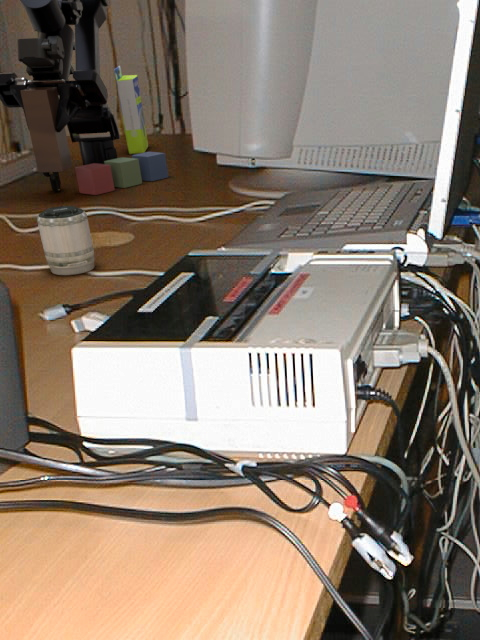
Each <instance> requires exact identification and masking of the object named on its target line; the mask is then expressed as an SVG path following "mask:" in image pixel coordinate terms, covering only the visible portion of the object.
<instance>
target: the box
mask: <svg viewBox="0 0 480 640" xmlns="http://www.w3.org/2000/svg"><path fill="white" fill-rule="evenodd" d="M121 67H122V66H121V65H118V66H117V67H115V68H114V69H113V74H114V78H115V84H116V88H117V95H118V101H119V107H120V111H121V112H120V113H121V118H122V123H123V129H124V135H125V139H126V140H125V141H126V145H127V151H128V155H136V154H140V153H145V152H147V149H148V147H149V141H148V134H147V127H146V121H145V115H144V108H143V102H142V97H141V90H140V84H139V76H138V74H129V75H123V72H122V68H121Z"/></svg>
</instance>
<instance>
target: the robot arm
mask: <svg viewBox="0 0 480 640" xmlns="http://www.w3.org/2000/svg"><path fill="white" fill-rule="evenodd" d="M19 1H20V3H21V5H22V8H23V9H24V12H25V14H26V16H27V18H28V20H29V22H30V24H31V27H32V29H33V30H34V31H35V32H37V33H38V37H34V38H33V37H31V38H18V39H16V40H17V41H16V44H17V60H18V62H20V63H22V64H24V65H25V66H26V68H25V71H26V73H27V75H28V76H29V77H32V79H27V78H25V77H18V75H17V74H16V73H15V72H0V102H1V103H2V104H3V106H5V107H7V108H9V109H10V108H12V109H13V108H22V110H23V114H24V118H25V122H26V126H27V130H28V131H29V128H28V123H27V118H26V114H25V109H24V105H23V100H22V96H21V90H25V89H28V88H37V87H57V91H58V96H59V104H58V110H57V115H56V130H57V132H61V131H62V129H63V128H64V127H65V128H66V126H67V130H68V134H69V137H70V139H71V144H73V143H78V145H79V151H80V156H81V162H82V166H84V165H88V164H93V163H96V164H104V161H107V160H112V159H117V158H118V153H117V148H116V147H115V143H114V141H116V140H121V136H120V130H119V127H118V124H117V120H116V118H115V115H114V114H113V112H112V110H111V108H110V106H109V105H108V97H109V93H108V89H107V86H106V85H105V83H104V81H103V79H102V77H101V63H100V62H101V61H100V60H101V59H100V28H101V27H102V26H103V25H104V24H105V22H106V20H107V19H108V7H109V6H110V0H19ZM71 26H74V30H73V27H71ZM73 51H74V54H75V55H74V56H75V69H74V68H73V65H72V59H73ZM70 75H72V78H73V80H70Z"/></svg>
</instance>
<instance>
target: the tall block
mask: <svg viewBox="0 0 480 640" xmlns="http://www.w3.org/2000/svg"><path fill="white" fill-rule="evenodd" d="M21 96H22V100H23V105H24V109H25V114H26V118H27V122H26V124H27V123H28V126H27V129H28V128H29V130H28V132H29V136H30V141H31V145H32V150H33V154H34V158H35V163H36V168H37V172H38V173H43V172H49V173H52V172H58V173H64V172H67V171H68V170H69V169H72V168H73V167H74V165H73V161H72V158H71V151H70V147H69V142H68V141H69V140H68V136H67V133H66V132H67V131H66V126H65V127H64V128H63V129H62V131H61V132H57V130H56V115H57V110H58V104H59V95H58V91H57V87H37V88H28V89H25V90H21ZM25 114H24V115H25ZM26 118H25V119H26Z"/></svg>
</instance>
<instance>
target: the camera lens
mask: <svg viewBox="0 0 480 640" xmlns="http://www.w3.org/2000/svg"><path fill="white" fill-rule="evenodd" d="M88 219H89V218H88V213H87V212H86V211H85V210H84V209H82V208H80V207H77V206H74V205H61V206H54V207H50V208H46V209H44V210H43V211H41V212H39V214H38V215H37V218H36V222H37V226H38V230H39V235H40V239H41V243H42V244H41V245H42V248H43V252H44V258H45V259H46V263H47V266H48V267H49V269H50V272H51V273H52V274H53V275H58V276H73V275H81V274H84V273H88V272H90V271H93V270H94V269H95V266H96V265H95V260H96V258H95V257H96V255H95V248H94V245H93V244H94V243H93V238H92V234H91V230H90V229H91V228H90V224H89V220H88Z"/></svg>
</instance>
